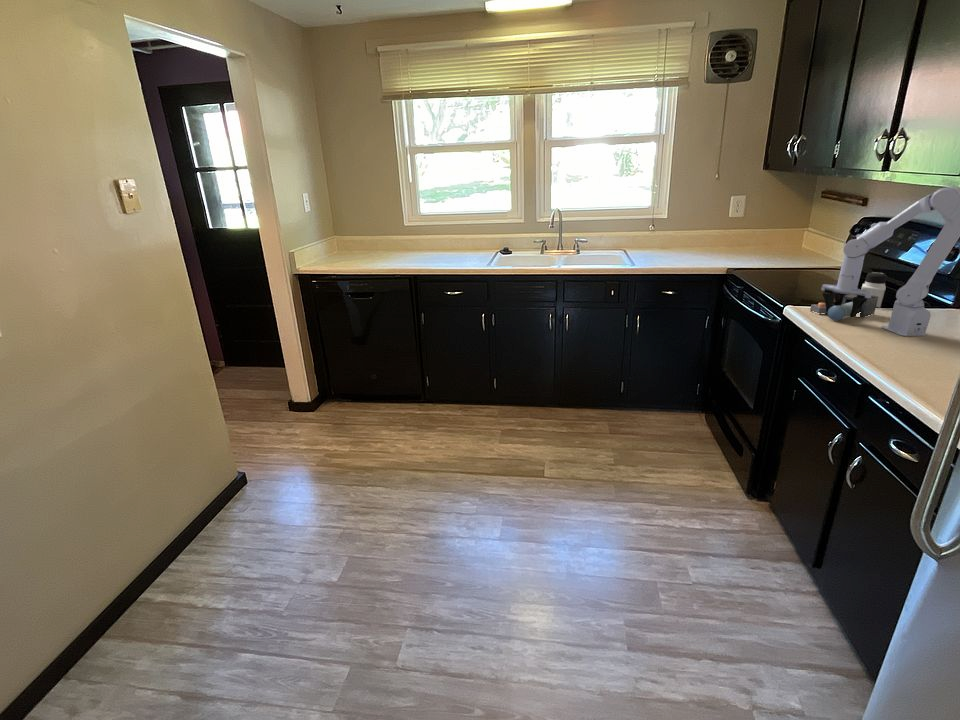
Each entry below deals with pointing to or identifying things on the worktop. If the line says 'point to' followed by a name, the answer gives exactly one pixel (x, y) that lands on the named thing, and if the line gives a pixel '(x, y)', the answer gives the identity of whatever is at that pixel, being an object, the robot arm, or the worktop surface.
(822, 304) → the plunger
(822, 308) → the block
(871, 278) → the medicine bottle
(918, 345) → the worktop surface
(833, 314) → the cylinder
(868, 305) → the block
